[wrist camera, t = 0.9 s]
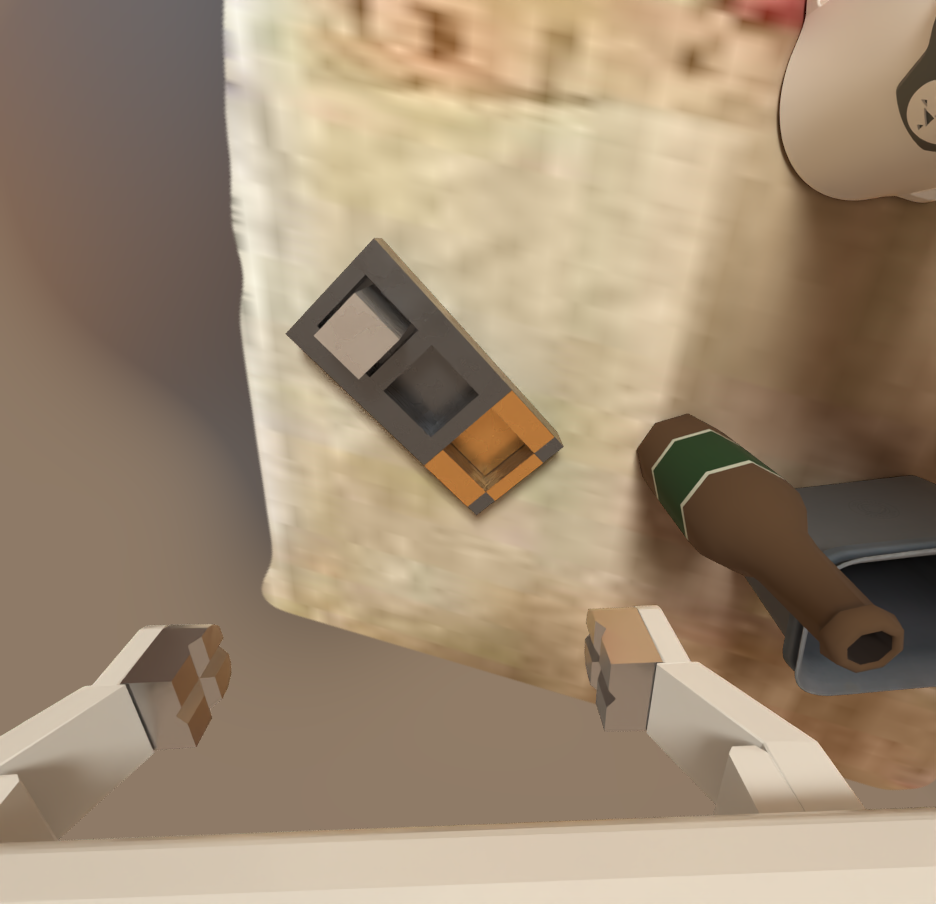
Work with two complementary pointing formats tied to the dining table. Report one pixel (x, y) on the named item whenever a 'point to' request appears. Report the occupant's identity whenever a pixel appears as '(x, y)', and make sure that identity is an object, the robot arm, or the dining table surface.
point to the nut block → (363, 330)
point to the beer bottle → (763, 537)
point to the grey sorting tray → (434, 386)
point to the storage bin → (871, 579)
